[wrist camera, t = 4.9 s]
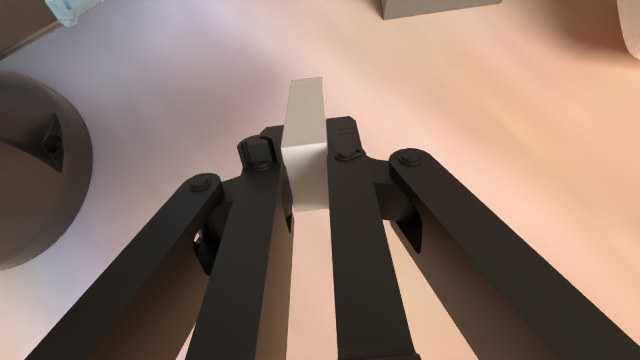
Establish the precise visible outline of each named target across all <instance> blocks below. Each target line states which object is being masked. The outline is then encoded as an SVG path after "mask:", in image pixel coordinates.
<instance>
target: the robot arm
mask: <svg viewBox="0 0 640 360" xmlns="http://www.w3.org/2000/svg"><path fill="white" fill-rule="evenodd" d="M102 1H104V0H0V60H2V59H4V58H5V57H7V56H9V55H11V54H13V53H15V52H16V51H18V50H20V49H22V48H24V47H25V46H27V45H29V44H31V43H33V42H35V41H36V40H38V39H40V38H42V37H44V36H45V35H47V34H49V33H51V32H53V31H55V30H56V29H58V28H60V27H62V26H65V27H67V28H71V27H73V26H75V25H76V24H77V23H78V20H79V16H80V15H82V14H83V13H85V12H86V11H88V10H89V9H91V8H93V7H94V6H96V5H98V4H99V3H101V2H102ZM237 149H238V152H239V155H240V159H241V162H242V165H243V169H242V173H241V175H240V176H238V177H236V178H233V179H230V180H227V181H223V182H221V179H220V177H219V176H218V175H217V174H213V173H202V174H199V175H195V176H193V177H192V178H190V179H188V180H187V181H185V182H184V183H183V184H182V185H181V186H180V187H179V188H178V189H177V191H176V192H175V193H174V194H173V195H172V196H171V197H170V198H169V199H168V201H167V202H166V203H165V204H164V205H163V206H162V207H161V208H160V209H159V211H158V212H157V213H156V214H155V215H154V216H153V217H152V218H151V219H150V221H149V222H148V223H147V224H146V225H145V226H144V227H143V228H142V229H141V231H140V232H139V233H138V234H137V235H136V236H135V237H134V238H133V239H132V241H131V242H130V243H129V244H128V245H127V246H126V247H125V248H124V249H123V251H122V252H121V253H120V254H119V255H118V256H117V257H116V258H115V259H114V261H113V262H112V263H111V264H110V265H109V266H108V267H107V268H106V269H105V271H104V272H103V273H102V274H101V275H100V276H99V277H98V278H97V279H96V281H95V282H94V283H93V284H92V285H91V286H90V287H89V288H88V289H87V291H86V292H85V293H84V294H83V295H82V296H81V297H80V298H79V299H78V301H77V302H76V303H75V304H74V305H73V306H72V307H71V308H70V309H69V311H68V312H67V313H66V314H65V315H64V316H63V317H62V318H61V319H60V321H59V322H58V323H57V324H56V325H55V326H54V327H53V328H52V329H51V331H50V332H49V333H48V334H47V335H46V336H45V337H44V338H43V339H42V341H41V342H40V343H39V344H38V345H37V346H36V347H35V348H34V349H33V351H32V352H31V353H30V354H29V355H28V356H27V357H26V358H25V359H24V360H175V359H176V358H177V356H178V354H179V352H180V350H181V349H182V347H183V345H184V343H185V341H186V339H187V338H188V336H189V334H190V332H191V330H192V329H193V327H194V325H195V323H196V325H195V328H194V331H193V335H192V338H191V341H190V344H189V348H188V351H187V354H186V358H185V360H286V350H287V334H288V318H289V301H290V285H291V268H292V252H293V236H294V217H293V213H292V204H293V207H294V211H295V212H299V211H308V210H317V209H326V208H329V210H330V227H331V244H332V261H333V278H334V296H335V313H336V330H337V347H338V360H421V357H420V355H419V354H417V353H416V352H415V349H414V346H413V343H412V339H411V335H410V331H409V327H408V323H407V318H406V314H405V310H404V306H403V302H402V298H401V294H400V290H399V286H398V282H397V278H396V274H395V270H394V266H393V262H392V257H391V253H390V249H389V245H388V241H387V237H386V233H385V229H384V225H383V221H382V220H390V224H391V227H392V228H393V230H394V231H395V233H396V234H397V236H398V237H399V239H400V241H401V242H402V244H403V245H404V247H405V248H406V250H407V251H408V253H409V254H410V256H411V257H412V259H413V260H414V262H415V263H416V265H417V266H418V268H419V269H420V271H421V272H422V274H423V276H424V277H425V279H426V280H427V282H428V283H429V285H430V286H431V288H432V289H433V291H434V292H435V294H436V295H437V297H438V298H439V300H440V301H441V303H442V304H443V306H444V307H445V309H446V311H447V312H448V314H449V315H450V317H451V318H452V320H453V321H454V323H455V324H456V326H457V327H458V329H459V330H460V332H461V333H462V335H463V336H464V338H465V339H466V341H467V343H468V344H469V346H470V347H471V349H472V350H473V352H474V353H475V355H476V356H477V358H478V359H479V360H640V346H639V345H638V344H636V343H635V342H634V341H633V340H632V339H631V338H630V337H629V336H628V335H627V334H626V333H624V332H623V331H622V330H621V329H620V328H619V327H618V326H617V325H616V324H615V323H614V322H612V321H611V320H610V319H609V318H608V317H607V316H606V315H605V314H604V313H603V312H602V311H600V310H599V309H598V308H597V307H596V306H595V305H594V304H593V303H592V302H591V301H590V300H588V299H587V298H586V297H585V296H584V295H583V294H582V293H581V292H580V291H579V290H578V289H576V288H575V287H574V286H573V285H572V284H571V283H570V282H569V281H568V280H567V279H565V278H564V277H563V276H562V275H561V274H560V273H559V272H558V271H557V270H556V269H555V268H553V267H552V266H551V265H550V264H549V263H548V262H547V261H546V260H545V259H544V258H543V257H541V256H540V255H539V254H538V253H537V252H536V251H535V250H534V249H533V248H532V247H531V246H529V245H528V244H527V243H526V242H525V241H524V240H523V239H522V238H521V237H520V236H519V235H517V234H516V233H515V232H514V231H513V230H512V229H511V228H510V227H509V226H508V225H506V224H505V223H504V222H503V221H502V220H501V219H500V218H499V217H498V216H497V215H496V214H494V213H493V212H492V211H491V210H490V209H489V208H488V207H487V206H486V205H485V204H484V203H482V202H481V201H480V200H479V199H478V198H477V197H476V196H475V195H474V194H473V193H472V192H470V191H469V190H468V189H467V188H466V187H465V186H464V185H463V184H462V183H461V182H460V181H458V180H457V179H456V178H455V177H454V176H453V175H452V174H451V173H450V172H449V171H448V170H446V169H445V168H444V167H443V166H442V165H441V164H440V163H439V162H438V161H437V160H435V159H434V158H433V157H432V156H431V155H430V154H429V153H427V152H425V151H423V150H419V149H415V148H407V149H401V150H398V151H396V152H394V153H393V154H391V155H390V158H389V161H384V160H376V159H373V158H370V157H368V156H367V155H366V152H365V151H364V149H362V145H361V141H360V137H359V133H358V129H357V125H356V121H355V120H354V119H353V118H351V117H350V116H346V117H338V118H329V119H327V113H326V105H325V97H324V89H323V81H322V77H315V78H308V79H300V80H292V81H291V85H290V91H289V97H288V104H287V110H286V117H285V123H284V125H280V126H272V127H266V128H265V129H264V130H263V131H262V132H261V133H260V135H255V136H251V137H248V138H246V139H244V140H243V141H241V142H240V143H239V144H238V145H237ZM91 172H92V148H91V142H90V138H89V134H88V131H87V128H86V126H85V124H84V122H83V120H82V118H81V116H80V115H79V113H78V112H77V110H76V109H75V108H74V107H73V106H72V105H71V104H70V103H69V102H68V101H67V100H66V99H65V98H64V97H62V96H61V95H59V94H58V93H56V92H54V91H53V90H51V89H49V88H47V87H45V86H43V85H41V84H39V83H37V82H35V81H33V80H30V79H28V78H26V77H23V76H20V75H17V74H14V73H10V72H5V71H0V270H5V269H9V268H12V267H15V266H18V265H21V264H23V263H25V262H27V261H29V260H31V259H33V258H35V257H36V256H38V255H39V254H41V253H42V252H44V251H45V250H46V249H48V248H49V247H50V246H51V245H52V244H54V243H55V242H56V241H57V240H58V239H59V238H60V237H61V236H62V235H63V233H64V232H65V231H66V230H67V229H68V227H69V226H70V225H71V223H72V222H73V220H74V219H75V217H76V215H77V214H78V212H79V210H80V208H81V206H82V204H83V202H84V199H85V197H86V194H87V191H88V187H89V183H90V179H91ZM197 233H198V234H199V236H200V237H199V238H198V239H197V241H196V242H194V238H195V236H196V234H197Z"/></svg>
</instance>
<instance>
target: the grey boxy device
mask: <svg viewBox="0 0 640 360" xmlns="http://www.w3.org/2000/svg"><path fill="white" fill-rule="evenodd" d="M501 2H502V0H381V7H382V13H383V19H384V20H388V19H394V18H401V17H408V16H415V15H422V14H429V13H436V12H443V11H450V10H456V9H463V8H470V7H477V6H484V5H491V4H498V3H501Z"/></svg>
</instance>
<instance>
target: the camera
mask: <svg viewBox="0 0 640 360" xmlns="http://www.w3.org/2000/svg"><path fill="white" fill-rule="evenodd" d="M617 7H618V13H619V19H620V24H621V29H622V34H623V38H624V41H625V44H626V47H627V49H628V51H629V52H630V53H631V54H632V56H633V57H635V58H637V59H639V60H640V0H617Z"/></svg>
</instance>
